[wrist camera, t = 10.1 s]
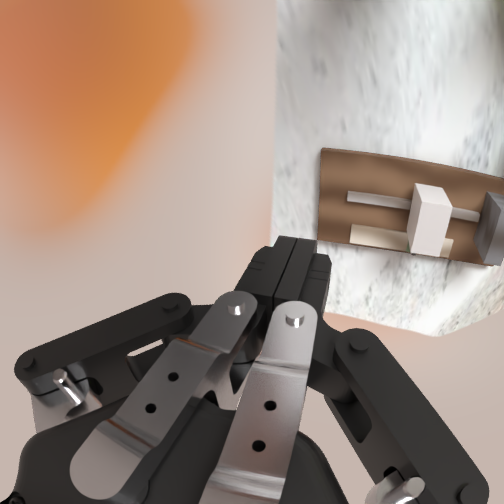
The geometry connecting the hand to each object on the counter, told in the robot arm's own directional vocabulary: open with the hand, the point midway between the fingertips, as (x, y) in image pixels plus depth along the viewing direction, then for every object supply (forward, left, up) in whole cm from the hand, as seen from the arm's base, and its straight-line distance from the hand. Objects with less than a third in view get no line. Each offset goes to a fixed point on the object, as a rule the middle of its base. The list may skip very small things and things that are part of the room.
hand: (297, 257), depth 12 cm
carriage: (+12, +12, -30) cm, 34 cm away
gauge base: (+11, +12, -32) cm, 36 cm away
